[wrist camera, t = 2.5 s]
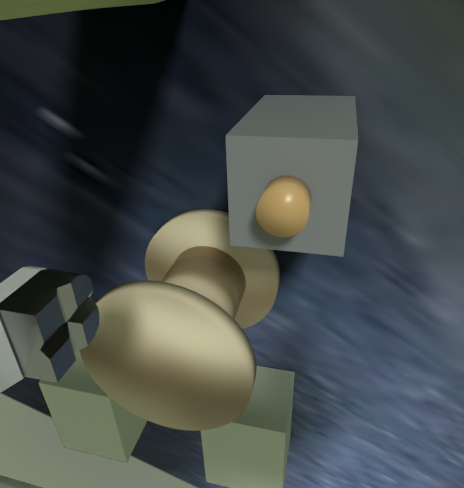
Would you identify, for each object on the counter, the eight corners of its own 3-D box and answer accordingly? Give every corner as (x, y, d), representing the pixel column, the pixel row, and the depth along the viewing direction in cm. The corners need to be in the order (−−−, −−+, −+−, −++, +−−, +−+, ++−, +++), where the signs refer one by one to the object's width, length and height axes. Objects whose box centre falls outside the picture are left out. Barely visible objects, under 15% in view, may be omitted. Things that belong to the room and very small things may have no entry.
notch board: (77, 335, 30) (38, 382, 27) (294, 372, 27) (285, 433, 23) (96, 397, 34) (63, 447, 30) (290, 437, 30) (281, 500, 26)
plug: (264, 95, 18) (215, 146, 12) (355, 95, 18) (358, 152, 11) (264, 177, 20) (221, 262, 14) (344, 182, 20) (342, 276, 13)
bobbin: (143, 203, 23) (58, 283, 16) (282, 214, 21) (251, 310, 14) (160, 312, 27) (97, 412, 20) (278, 329, 25) (252, 445, 18)
